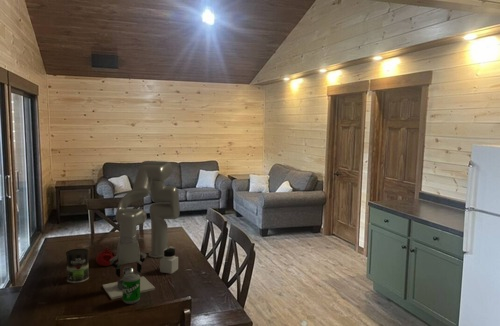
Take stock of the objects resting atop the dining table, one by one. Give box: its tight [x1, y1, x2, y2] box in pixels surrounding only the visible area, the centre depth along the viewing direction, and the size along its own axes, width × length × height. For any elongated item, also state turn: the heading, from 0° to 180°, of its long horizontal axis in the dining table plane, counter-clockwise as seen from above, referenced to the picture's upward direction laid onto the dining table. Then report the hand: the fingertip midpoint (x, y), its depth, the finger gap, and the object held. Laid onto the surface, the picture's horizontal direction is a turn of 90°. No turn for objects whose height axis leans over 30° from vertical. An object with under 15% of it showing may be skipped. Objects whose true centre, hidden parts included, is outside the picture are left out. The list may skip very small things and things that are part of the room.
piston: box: [122, 265, 135, 277], centre depth 186 cm, size 5×5×9 cm
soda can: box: [121, 271, 141, 305], centre depth 172 cm, size 8×8×12 cm
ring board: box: [102, 275, 156, 300], centre depth 186 cm, size 20×16×4 cm
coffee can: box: [65, 248, 90, 284], centre depth 195 cm, size 10×10×14 cm
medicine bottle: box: [159, 248, 179, 275], centre depth 209 cm, size 7×7×12 cm
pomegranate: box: [95, 247, 116, 267], centre depth 216 cm, size 10×10×9 cm
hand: (128, 273), depth 186 cm, fingers open, 9 cm apart
